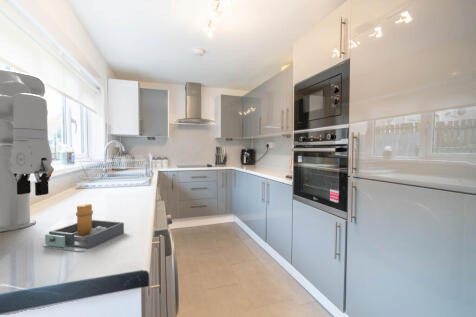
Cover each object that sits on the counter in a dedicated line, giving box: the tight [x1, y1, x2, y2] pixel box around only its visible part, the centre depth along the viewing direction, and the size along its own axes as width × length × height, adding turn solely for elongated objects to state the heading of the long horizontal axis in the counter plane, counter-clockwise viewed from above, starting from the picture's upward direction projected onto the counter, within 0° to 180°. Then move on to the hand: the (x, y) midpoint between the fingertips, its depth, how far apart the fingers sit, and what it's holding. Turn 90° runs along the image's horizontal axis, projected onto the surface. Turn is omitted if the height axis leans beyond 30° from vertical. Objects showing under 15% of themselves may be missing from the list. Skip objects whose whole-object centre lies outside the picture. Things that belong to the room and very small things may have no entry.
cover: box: [44, 233, 66, 247], centre depth 63 cm, size 7×1×3 cm, turn 75°
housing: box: [42, 219, 125, 253], centre depth 70 cm, size 16×15×4 cm
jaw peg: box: [75, 203, 94, 237], centre depth 71 cm, size 5×5×10 cm
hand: (32, 193), depth 66 cm, fingers open, 6 cm apart
